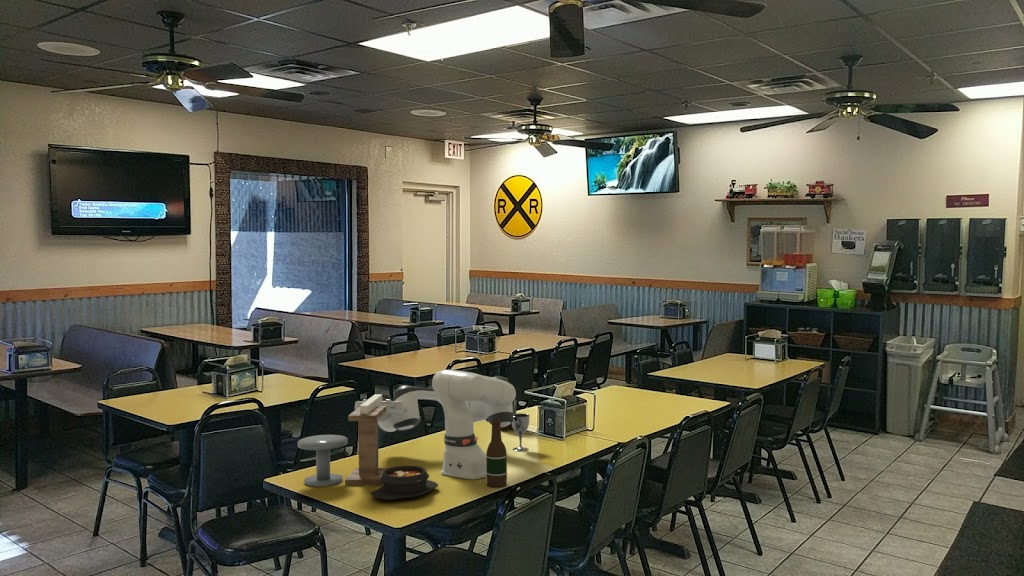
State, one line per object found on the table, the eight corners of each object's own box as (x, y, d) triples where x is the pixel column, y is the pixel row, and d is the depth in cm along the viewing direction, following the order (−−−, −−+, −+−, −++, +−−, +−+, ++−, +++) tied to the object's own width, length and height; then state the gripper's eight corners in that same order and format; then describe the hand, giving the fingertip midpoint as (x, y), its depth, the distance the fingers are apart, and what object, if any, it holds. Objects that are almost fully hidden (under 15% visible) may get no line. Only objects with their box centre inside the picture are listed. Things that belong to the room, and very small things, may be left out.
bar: (374, 401, 297) (374, 394, 297) (382, 401, 297) (382, 394, 297) (359, 413, 273) (359, 405, 273) (367, 413, 273) (367, 405, 273)
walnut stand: (356, 472, 289) (355, 406, 288) (392, 472, 288) (391, 406, 287) (344, 485, 271) (342, 415, 270) (382, 486, 270) (380, 415, 269)
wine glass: (508, 450, 319) (508, 416, 319) (515, 446, 327) (515, 412, 326) (525, 452, 316) (525, 417, 316) (532, 448, 324) (532, 414, 323)
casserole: (390, 509, 245) (390, 484, 245) (360, 496, 258) (359, 473, 258) (449, 492, 262) (449, 468, 262) (417, 481, 276) (417, 459, 275)
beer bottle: (511, 483, 272) (510, 418, 271) (501, 489, 265) (501, 422, 264) (492, 480, 275) (491, 416, 274) (482, 486, 268) (481, 421, 267)
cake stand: (357, 480, 278) (356, 439, 277) (315, 491, 264) (315, 448, 264) (330, 471, 290) (329, 432, 289) (289, 482, 277) (288, 441, 276)
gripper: (407, 419, 305) (401, 408, 293) (358, 419, 306) (350, 408, 294) (408, 405, 308) (403, 393, 296) (360, 405, 309) (352, 393, 297)
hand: (376, 401), depth 295 cm, fingers open, 8 cm apart
